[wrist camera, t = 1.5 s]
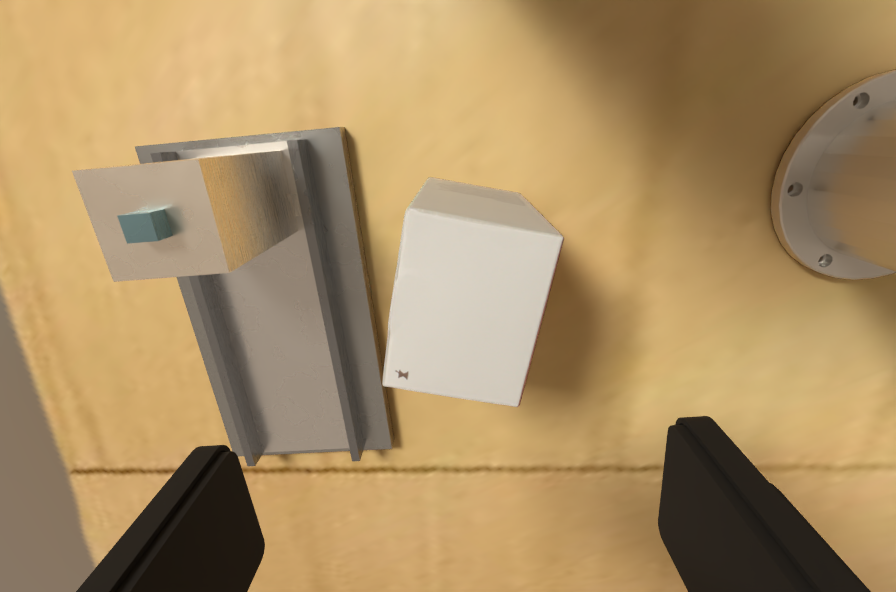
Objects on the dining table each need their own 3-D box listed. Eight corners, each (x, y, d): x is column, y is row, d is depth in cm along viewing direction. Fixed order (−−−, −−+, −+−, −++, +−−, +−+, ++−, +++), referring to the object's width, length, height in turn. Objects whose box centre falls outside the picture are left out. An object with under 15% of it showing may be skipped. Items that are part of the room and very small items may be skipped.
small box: (497, 303, 31) (520, 413, 19) (410, 289, 31) (377, 390, 19) (523, 190, 29) (568, 235, 16) (427, 173, 28) (400, 206, 16)
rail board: (344, 127, 28) (268, 125, 17) (394, 438, 36) (364, 570, 25) (147, 146, 28) (-46, 155, 18) (241, 446, 37) (149, 577, 26)
